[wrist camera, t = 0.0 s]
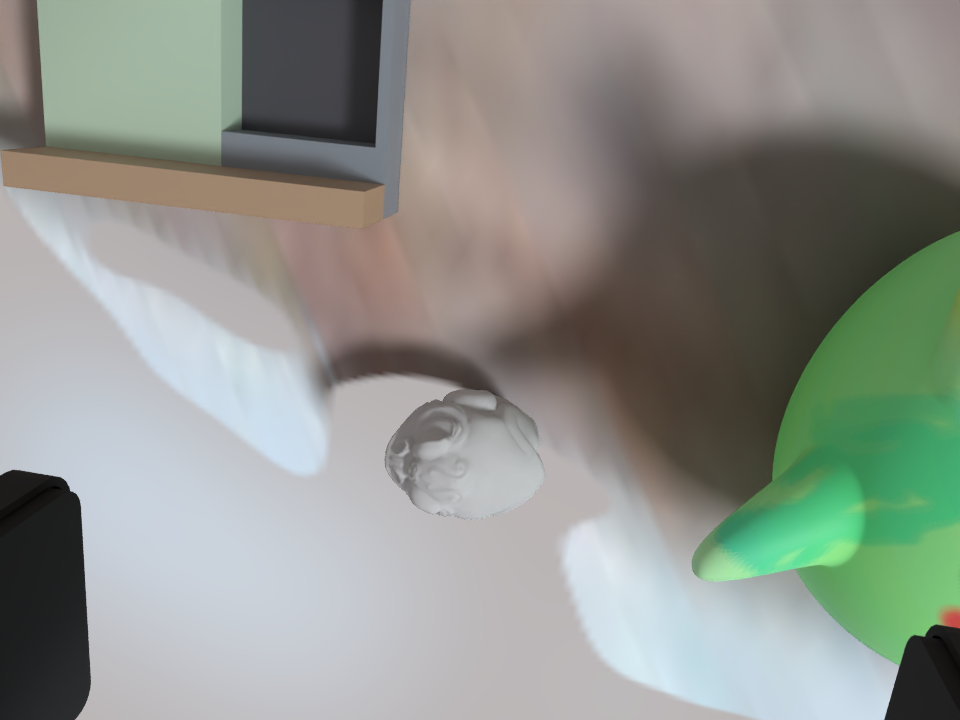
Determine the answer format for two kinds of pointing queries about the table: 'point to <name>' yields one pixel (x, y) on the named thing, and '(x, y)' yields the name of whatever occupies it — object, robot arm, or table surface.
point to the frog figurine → (466, 456)
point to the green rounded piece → (868, 466)
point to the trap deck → (223, 106)
